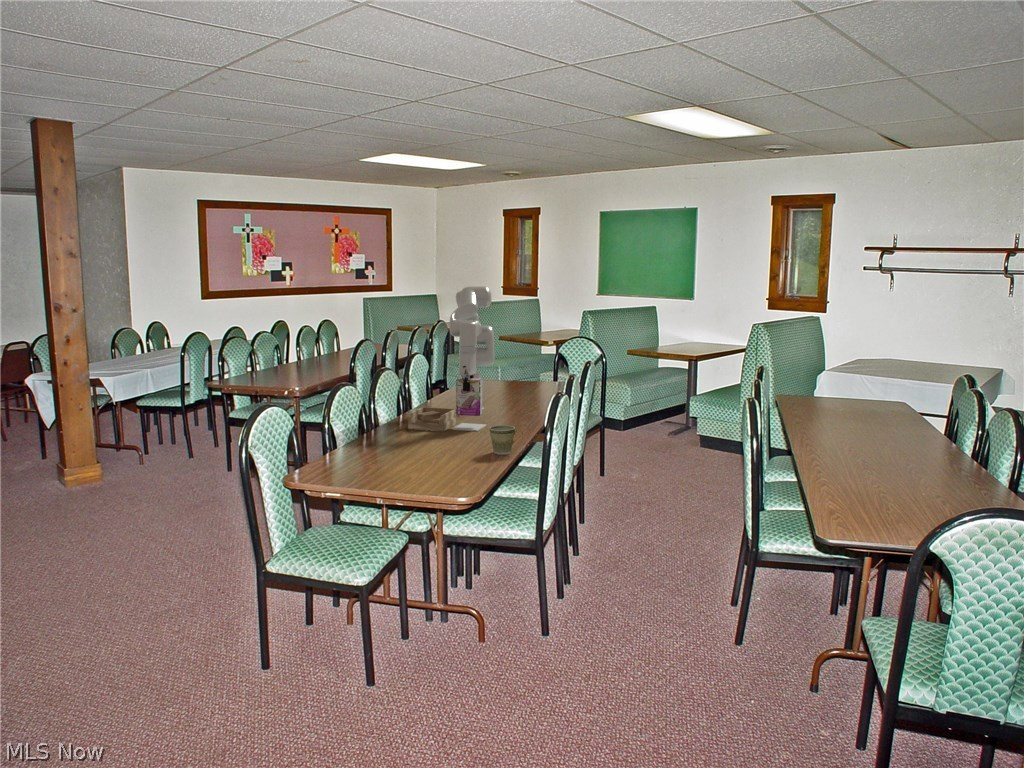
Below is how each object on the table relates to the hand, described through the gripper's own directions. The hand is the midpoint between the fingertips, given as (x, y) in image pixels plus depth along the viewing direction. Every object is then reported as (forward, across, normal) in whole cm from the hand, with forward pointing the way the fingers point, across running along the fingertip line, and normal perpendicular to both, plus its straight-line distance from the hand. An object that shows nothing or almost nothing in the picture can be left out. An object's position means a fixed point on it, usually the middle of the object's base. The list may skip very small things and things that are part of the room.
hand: (468, 389), depth 336 cm
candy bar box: (+12, 0, 0) cm, 12 cm away
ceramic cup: (+18, +39, +30) cm, 52 cm away
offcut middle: (+16, +6, -17) cm, 24 cm away
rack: (+17, +2, -17) cm, 24 cm away
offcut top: (+13, +6, -17) cm, 22 cm away
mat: (+17, 0, 0) cm, 17 cm away
